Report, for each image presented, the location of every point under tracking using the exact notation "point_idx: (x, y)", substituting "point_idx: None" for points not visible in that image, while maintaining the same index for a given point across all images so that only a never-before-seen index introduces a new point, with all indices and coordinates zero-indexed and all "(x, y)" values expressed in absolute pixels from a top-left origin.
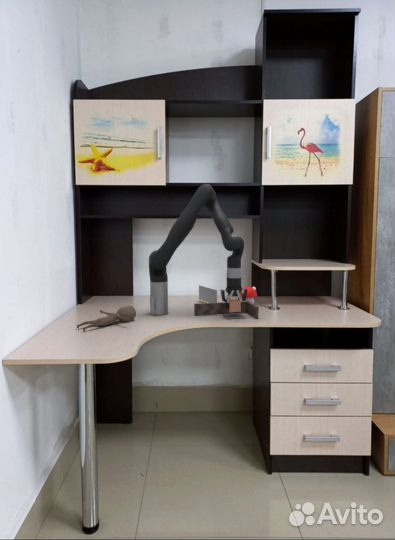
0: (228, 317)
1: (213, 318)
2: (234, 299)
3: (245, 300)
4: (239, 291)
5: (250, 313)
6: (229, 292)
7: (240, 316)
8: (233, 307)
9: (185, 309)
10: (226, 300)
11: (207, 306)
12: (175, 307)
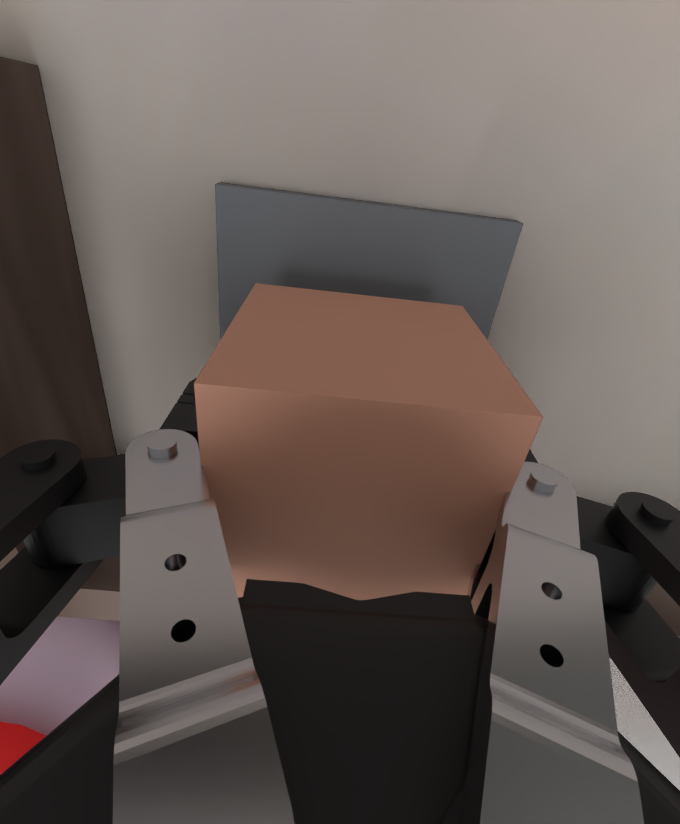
0: (482, 267)
1: (654, 350)
2: (304, 574)
3: (49, 691)
4: (71, 813)
5: (75, 341)
6: (645, 803)
7: (272, 264)
8: (412, 333)
9: (623, 692)
10: (579, 524)
11: (660, 597)
12: (644, 739)
